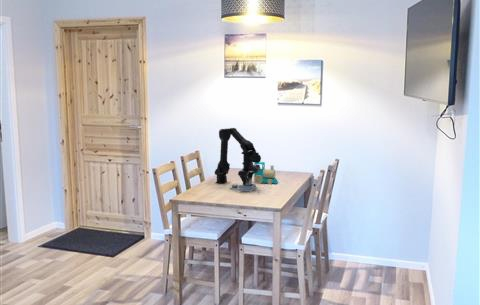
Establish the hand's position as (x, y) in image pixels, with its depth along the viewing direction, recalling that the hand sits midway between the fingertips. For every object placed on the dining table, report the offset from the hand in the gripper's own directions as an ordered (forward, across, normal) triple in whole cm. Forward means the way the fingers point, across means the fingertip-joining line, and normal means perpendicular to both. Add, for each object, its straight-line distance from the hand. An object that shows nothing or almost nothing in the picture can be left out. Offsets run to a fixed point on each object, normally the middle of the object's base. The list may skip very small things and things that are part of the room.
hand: (247, 183), depth 318 cm
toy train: (+4, +25, -5) cm, 26 cm away
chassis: (+4, 0, +3) cm, 5 cm away
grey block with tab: (+3, 0, 0) cm, 3 cm away
